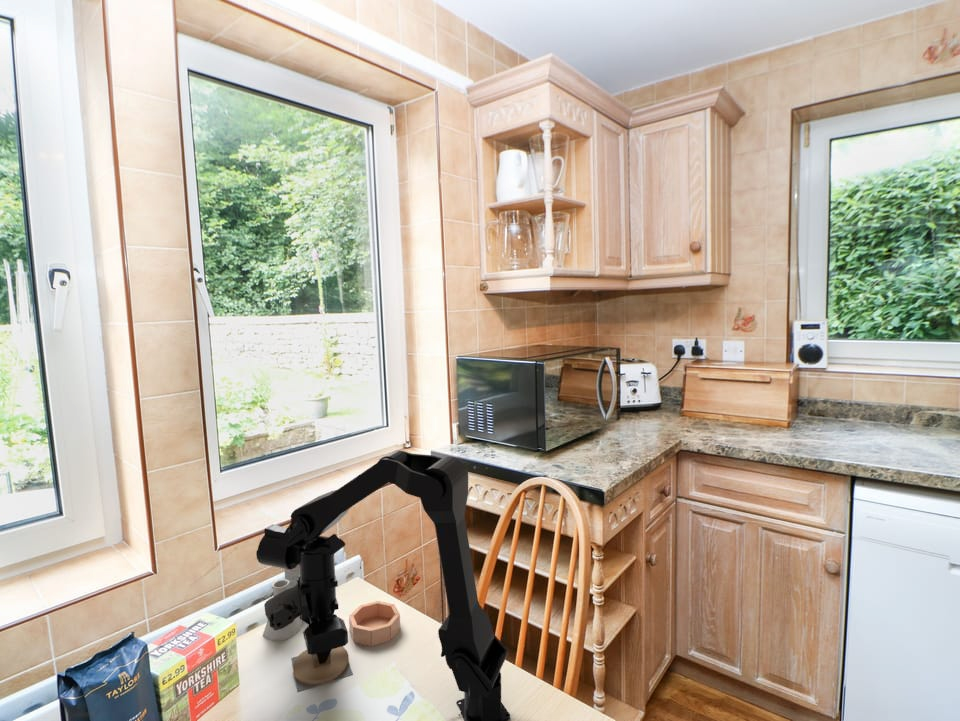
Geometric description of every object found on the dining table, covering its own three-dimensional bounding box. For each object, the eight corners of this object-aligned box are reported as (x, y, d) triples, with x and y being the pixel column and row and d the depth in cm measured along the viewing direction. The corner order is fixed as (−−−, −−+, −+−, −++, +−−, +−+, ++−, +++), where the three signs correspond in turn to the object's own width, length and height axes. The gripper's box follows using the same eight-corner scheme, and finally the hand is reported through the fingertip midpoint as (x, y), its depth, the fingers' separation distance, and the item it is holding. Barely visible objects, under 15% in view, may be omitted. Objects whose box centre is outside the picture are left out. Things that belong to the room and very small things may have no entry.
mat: (353, 677, 89) (352, 674, 89) (297, 695, 85) (297, 691, 85) (342, 646, 97) (342, 643, 97) (291, 661, 93) (291, 657, 93)
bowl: (404, 639, 99) (404, 621, 99) (356, 653, 95) (356, 635, 95) (391, 613, 107) (390, 597, 107) (346, 625, 103) (346, 608, 103)
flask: (289, 646, 97) (287, 595, 96) (254, 641, 99) (252, 591, 98) (309, 623, 104) (307, 575, 103) (277, 618, 106) (274, 572, 105)
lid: (353, 674, 89) (352, 650, 88) (296, 692, 85) (295, 666, 84) (342, 643, 97) (342, 620, 97) (290, 657, 93) (289, 634, 93)
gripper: (262, 558, 94) (267, 639, 96) (270, 614, 77) (276, 711, 79) (326, 545, 99) (329, 623, 101) (347, 595, 82) (350, 687, 84)
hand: (321, 657), depth 91 cm, fingers closed on lid, 3 cm apart
